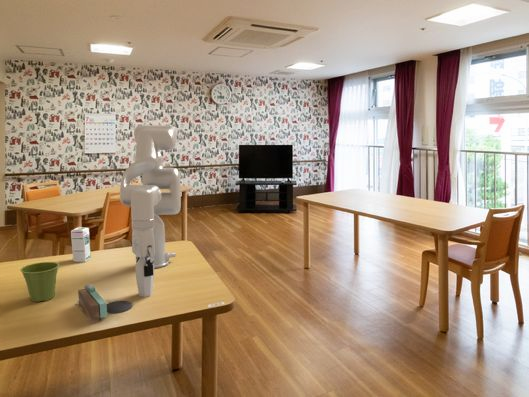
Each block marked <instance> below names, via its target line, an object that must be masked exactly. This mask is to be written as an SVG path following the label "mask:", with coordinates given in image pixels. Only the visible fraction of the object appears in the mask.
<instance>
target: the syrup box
mask: <svg viewBox="0 0 529 397" xmlns="http://www.w3.org/2000/svg"><path fill="white" fill-rule="evenodd" d="M70 239H71V251H72V261H73V262H74V263H76V262H77V263H86V262H88V261H89V260H90V259H92V250H91V239H90V228H89V227H84V226H80V227H76V228H74V229H72V230H70Z"/></svg>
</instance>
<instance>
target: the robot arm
mask: <svg viewBox="0 0 529 397" xmlns="http://www.w3.org/2000/svg"><path fill="white" fill-rule="evenodd" d="M177 135H178V134H177V130H176V128H175V127H174V126H172V125H157V124H156V125H153V124H150V125H149V124H145V125H139V126H136V127H135V128H134V131H133V137H134V141H135V143H136V146H135V157H134V158H135V160H134V162H132V163H131V164H130V165H129V166H128V167H127V168H125V169H126V170H124V172H123V174H122V176H121V179H120V188H119V200H120V203H121V204H122V205H124V206H127V207H130V208H131V209H130V211H131V212H130V213H131V214H130V215H131V229H132V232H131V252H132V253H133V255H135V264H136V263H137V261H138V260H139V258H144V263H145V266H144V276H145V277H148V276H152V275H153V274H154V275H155V272H154V273H153V264H154V269H159V268H163V266H164V267H166V266H168V265H169V264H170V260H169V259H170V258H176V256H177V255H176V252H170V251H169V252H166V231H165V230H166V229H165V228H166V227H165V223H164V221H163V219H162V218H161V217H160V216H161V215H164V216H165V215H167V216H168V215H169V216H170V215H177V214H179V213H180V212H181V207H182V206H181V205H182V199H181V196H182V195H181V194H182V193H181V192H182V191H181V189H182V188H181V186H182V185H181V174H180V171H179V170H178V169H177V168H176V167H163V155H162V154H161V152H160V151H172V150H173V149H174V148H175V146H176V143H177V138H178V136H177ZM139 176H140V177H141V181H142V184H131V182H132V181H133V180H134V179H136V178H138V177H139ZM130 184H131V185H130ZM162 190H167V191H169V192H162ZM146 255H149V256H147V257H146ZM147 258H149V259H148V261H147Z"/></svg>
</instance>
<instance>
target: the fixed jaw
mask: <svg viewBox="0 0 529 397" xmlns="http://www.w3.org/2000/svg"><path fill="white" fill-rule="evenodd" d="M90 286H94V287H95V285H94V284H86V285H84V286H83V288H81V289H77V294H78V298H77V305H78V306H79V307H80V309H81V310H82V311H83V312H84V314H85V316H86V317H87V318H88V320H89V321H90V322H91V324H96V323H99V322H100V316H99V305H98V304H97V303H96V301H95V300H94V299H93V298H92V297H91V296H90V294H89V293H88V291H89V290H88V287H90Z"/></svg>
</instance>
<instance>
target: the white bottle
mask: <svg viewBox="0 0 529 397" xmlns="http://www.w3.org/2000/svg"><path fill="white" fill-rule="evenodd" d="M147 256H149V255H146V257H147ZM148 259H149V258H147V261H148ZM134 266H135V279H136V285H137V291H138V295H139V297H140V298H141V297H143V298H147V296H148V297H151V296H152V295H153V291H154V282H155V281H154V279H155V268H154V264H153V273H154V274H153V275H152V276H148V277H145V276H144V266H145V263H144V258H139V260H138V261H137V263H136V262H135V265H134Z"/></svg>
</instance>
